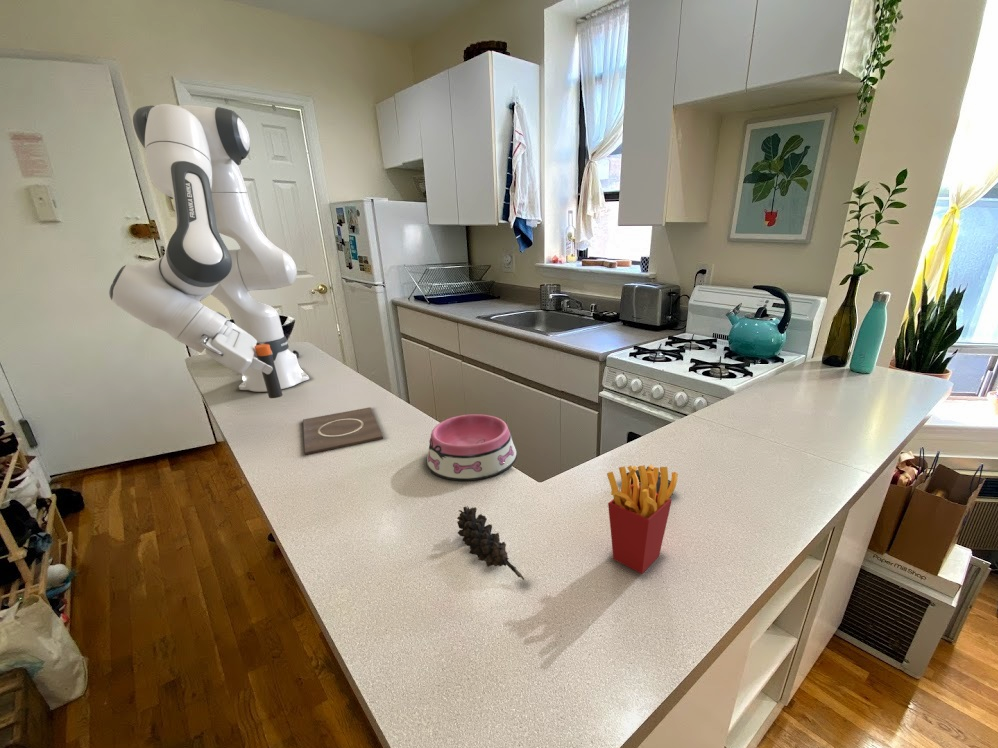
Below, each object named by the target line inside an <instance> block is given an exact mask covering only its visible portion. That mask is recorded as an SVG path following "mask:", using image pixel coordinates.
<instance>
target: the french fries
mask: <svg viewBox="0 0 998 748" xmlns="http://www.w3.org/2000/svg"><path fill="white" fill-rule="evenodd" d="M647 467H648V466H647ZM627 469H628V472H629V474H628V476H627V473H628V472H627ZM627 469H626V466H625V465H624V466H620V467H618V471H619V475H620V479H621V483H620V485H621V488H620V490H619V487H618V484H617V480H616V477H615V474H614V471H609V472H607V473H606V476H607V479H608V483H609V486H610V488H611V493H610V495H611V496H613V497H612V498H613V499H611V500H610V501H609V502H608V503H607V504H608V505H607V507H608V516H609V517H608V518H609V527H610V528H609V529H610V538H611V548H612V559H613V560H615V561H616V562H618V563H620V564H622V565H623V566H626V567H627V568H630V569H631V570H633V571H635V572H637V573H639V574H641V575H643V574H644V573H645V572H646V571H647V569H648V568H650V566H651V565H652V564H653V563H654V562H655V561H656V560H657V559H658V558H659V557H660V554H661V550H662V545H663V540H664V536H665V532H666V528H667V523H668V519H669V515H670V510H671V506H672V501H673V499H671V496H673V495H672V493H673V494H674V491H675V489H676V488H677V484H678V483H677V482H678V473H677V472H676V471H673V472H671V477H670V478H671V479H670V481H671V483H670V486H669V488H668V480H669V471H668V466H660V467H655V466H654V465H652V464H650V465H649V467H648V469H647V468H646V466H645V465H644V464H643V465H638V466H635V465H633V466H632V465H629V466H627ZM646 469H647V470H646ZM652 469H653V471H651V470H652ZM636 470H638V471H639V474H640V480H641V482H640V483H639V480H638V477H637V475H636V473H635V472H636ZM659 472H660V475H661V485H660V490H659V494H657V493H656V483H657V481H658V474H659ZM631 477H632V478H633V484H632V485H631ZM648 482H649V486H648ZM667 488H668V489H667Z"/></svg>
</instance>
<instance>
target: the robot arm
mask: <svg viewBox="0 0 998 748" xmlns="http://www.w3.org/2000/svg"><path fill="white" fill-rule="evenodd" d="M132 124H133V129H134V132H135V134H136V136H137V139H138V141H139V142H140V144H141V145H142V147H143V148H144V155H145V164H146V169H147V173H148V176H149V179H150V181H151V183H152V185H153V186H154V187H155V188H156V189H157V190H158V191H160V192H161V193H162V194H164V195H165V196H168V197H170V198H172V199H173V206H174V214H175V220H176V228H175V230H174V232H173V234H172V235H171V237H170V239H169V240H168V243H167V246H166V249H165V252H164V254H163V256H161V257H160V258H157V259H155V260H151V261H148V262H144V263H138V264H125V265H122V267H121V268H120V269H119V270H118V271H117V273H116V275H115V277H114V278H113V281H112V283H111V285H110V287H109V291H108V295H109V298H110V300H111V302H112V303H114V305H116V306H117V307H119V308H120V309H121V310H123V311H124V312H126V313H127V314H129V315H131V316H132V317H134V318H136V319H137V320H139V321H141V322H143V323H144V324H146V325H148V326H149V327H152V328H155V329H158V330H162V331H164V332H165V333H166V334H168V335H169V336H170V337H171V338H173V339H174V340H176V341H178V342H180V343H181V344H183V345H185V346H187V347H189V348H191V349H192V350H194V351H197V352H198V353H199V354H202V353H203V352H205V354H206V356H208V357H210V358H211V359H212V360H214V361H216V362H217V363H219V364H220V365H222V366H224V367H226V368H227V369H229V370H231V371H233V372H235V373H236V374H241V375H242V376H241V377H242V382H241V383H240V384H239V385H238V390H240V391H251V392H256V393H257V392H258V393H260V392H261V393H262V392H267V389H266V385H265V382H264V378H263V375H262V372H264V373H266V374H270V373H271V371H272V370H273V367H272V366H271V365H269V364H267V363H264V362H262V361H260V360H258V357H257V354H256V351H255V346H256V345H260V344H269V345H270V349H271V352H272V357H273V361H274V364H275V368H276V372H277V376H278V379H279V383H280V387H281V390H285V389H288V388H291V387H294V386H297V385H298V384H300V383H303V382H306V381H309V380H310V377H309V374H307V373H306V371H304V370H303V369H302V368H301V364H299V362H298V358H299V356H300V354H299V352H298V351H297V350H295V349H293V350H292V351H291V350H290V349H289V347H290V346H289V341H288V339H287V337H286V335H285V334H284V330H283V326H282V322H281V318H280V314H279V312H278V311H277V310H276V308H275V307H273V306H272V305H270V304H268V303H264V302H261V301H258V300H256V299H255V298H253V296H251V294H250V293H249V292H250V291H263V290H264V291H267V290H277V289H282V288H285V287H286V288H287V287H289V286H292V285H293V284H294V283H295V281H296V279H297V277H298V268H297V265H296V262H295V261H294V259H293V257H292V256H291V255H290V254H289V253H288V252H287V251H285V250H284V249H281V248H280V247H278V246H277V245H275V244H274V243H273V242H272V241H270V239H269V238H268V237H267V236H266V235H265V234H264V233H263V231H262V230H261V228H260V226H259V224H258V221H257V220H256V217H255V214H254V210H253V208H252V204H251V201H250V197H249V193H248V189H247V186H246V183H245V180H244V179H245V178H244V177H243V175H242V171H241V169H240V165H242V161H243V160H244V159H246V158H247V156H248V155H249V153H250V151H251V150H250V149H251V138H250V134H249V131H248V129H247V126H246V125H245V123H244V121H243V119H242V118H241V116H240V115H239V114H238V113H236V112H235V111H234V110H232V109H228V108H224V107H221V106H217V107H211V106H203V105H197V104H196V105H194V104H193V105H192V104H183V105H175V104H172V103H160V104H157V105H145V106H141V107H138V108H137V109H136V110H135V112H134V113H133V115H132ZM221 235H223V236H226V237H228V238H231V239H233V240H234V241H235V242H236V243H237V244H238V247H239V248H238V249H228V247H227V245H226V244H225V242H224V240H223V238H222V236H221ZM210 295H211V296H212V297H214V298H215V299H217V300H218V301H219V302H220V303H221V304H222V305H224V307H225V308H226V309H227V311H228V312H229V313H230V315H231V318H232V320H233V322H232V321H230V320H228V319H229V318H228V316H227V315H225V314H223V313H222V312H220V311H215V310H214V309H211V308H209V307H208V306H206V305H204V304H203V303H201V301H203V300H205V299H207V298H208V297H209V296H210Z"/></svg>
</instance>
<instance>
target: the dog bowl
mask: <svg viewBox="0 0 998 748" xmlns="http://www.w3.org/2000/svg"><path fill="white" fill-rule="evenodd" d="M428 444H429V445H428V452H427V458H426V466H427V468H428V470H429V471H430V472H431V473H432V474H434V475H435V476H437V477H440V478H442V479H445V480H450V481H459V482H460V481H461V482H467V481H469V482H471V481H479V480H484V479H488V478H491V477H495V476H497V475H499V474H501V473H503V472H505V471H507V470H509V469H510V468H511V467H512V466H513V465H514V464H515V462H516V460H517V459H518V452H517V449H516V446H515V444H514V441H513V437H512V433H511V432H510V429H509V427H508V424H507V423H506V422H505V421H504V420H503V419H501V418H500V417H497V416H494V415H489V414H481V413H480V414H477V413H476V414H462V415H456V416H453V417H450V418H449V417H448V418H447V419H445V420H443V421H441V422H439V423H438V424H436V426H434V427H433V429H432V430H431V434H430V437H429V443H428ZM503 462H505V463H506V464H505V463H503ZM507 464H508V465H507ZM510 466H511V467H510Z"/></svg>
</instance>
